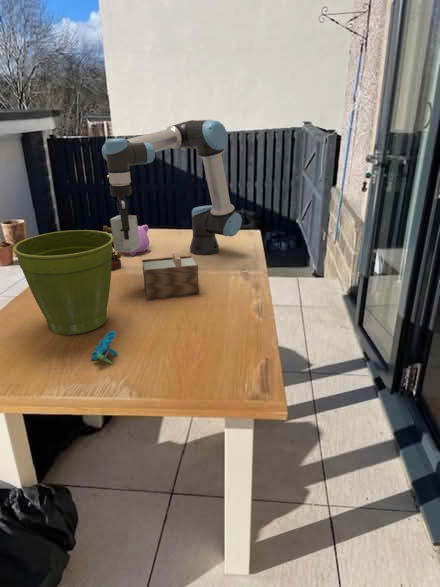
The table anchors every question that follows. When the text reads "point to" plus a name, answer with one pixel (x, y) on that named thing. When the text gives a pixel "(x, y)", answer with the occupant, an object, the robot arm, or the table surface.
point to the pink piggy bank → (141, 240)
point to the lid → (169, 263)
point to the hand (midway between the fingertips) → (126, 243)
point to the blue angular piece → (104, 348)
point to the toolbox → (170, 280)
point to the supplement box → (118, 236)
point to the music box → (113, 253)
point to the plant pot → (69, 277)
